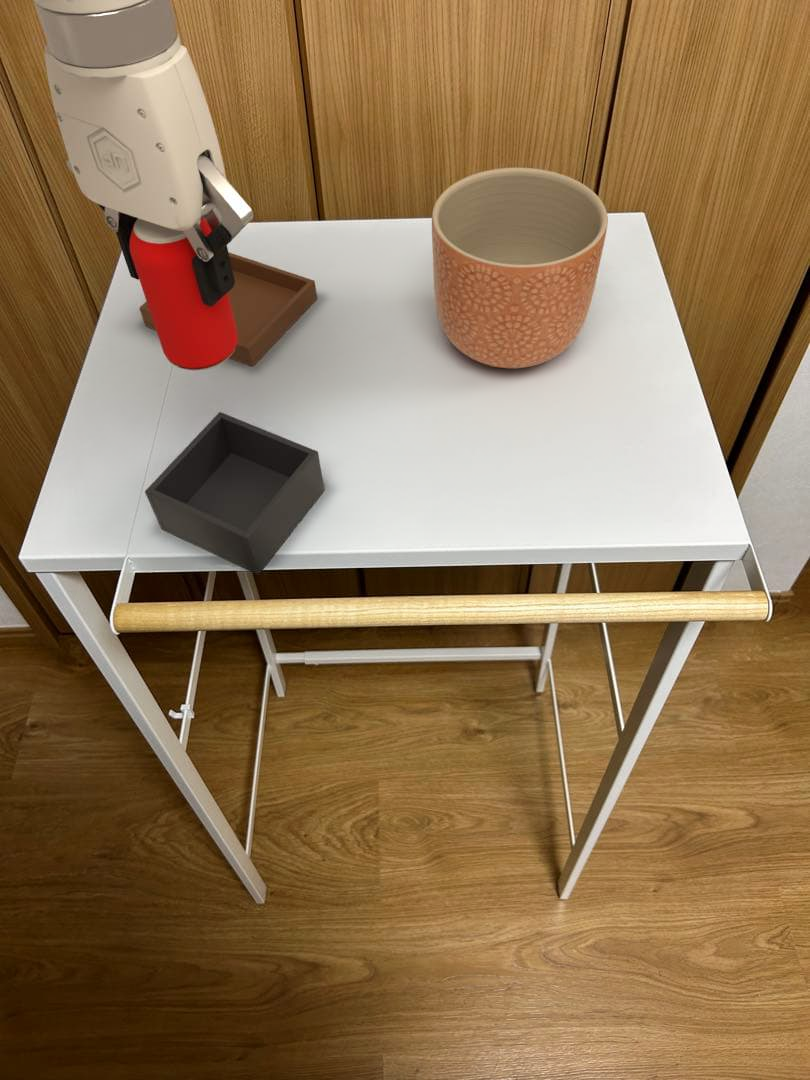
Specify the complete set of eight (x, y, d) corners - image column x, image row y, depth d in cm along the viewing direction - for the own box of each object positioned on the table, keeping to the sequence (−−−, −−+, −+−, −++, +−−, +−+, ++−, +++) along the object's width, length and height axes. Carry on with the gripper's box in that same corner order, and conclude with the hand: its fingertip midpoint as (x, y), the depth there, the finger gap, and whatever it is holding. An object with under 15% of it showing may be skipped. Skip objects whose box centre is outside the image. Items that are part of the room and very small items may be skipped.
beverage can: (152, 370, 67) (106, 239, 58) (186, 322, 71) (148, 191, 61) (221, 384, 66) (186, 252, 57) (252, 335, 70) (224, 203, 60)
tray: (145, 326, 96) (138, 307, 94) (213, 264, 103) (209, 245, 101) (252, 366, 91) (248, 348, 89) (317, 299, 98) (314, 280, 96)
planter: (582, 291, 97) (603, 167, 85) (589, 393, 87) (613, 269, 75) (437, 287, 99) (437, 165, 86) (427, 387, 89) (425, 264, 76)
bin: (161, 529, 78) (144, 491, 74) (231, 451, 84) (219, 411, 79) (258, 575, 75) (247, 538, 70) (324, 490, 81) (318, 451, 76)
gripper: (-43, 20, 49) (64, 276, 64) (185, 81, 44) (246, 346, 59) (47, -26, 53) (129, 226, 68) (267, 26, 48) (305, 288, 62)
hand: (182, 280), depth 63 cm, fingers closed on beverage can, 6 cm apart
